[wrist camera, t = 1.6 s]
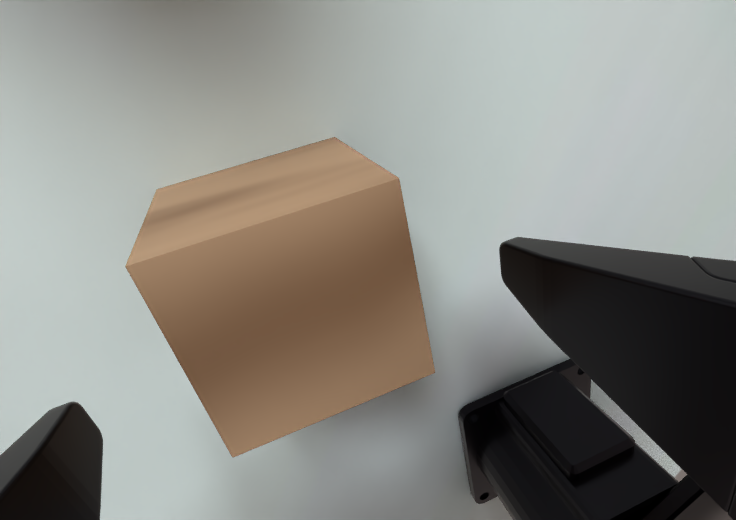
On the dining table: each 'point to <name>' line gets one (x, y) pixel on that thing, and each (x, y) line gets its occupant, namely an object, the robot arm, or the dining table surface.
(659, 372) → the robot arm
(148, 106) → the dining table surface
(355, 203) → the light brown wooden cube
